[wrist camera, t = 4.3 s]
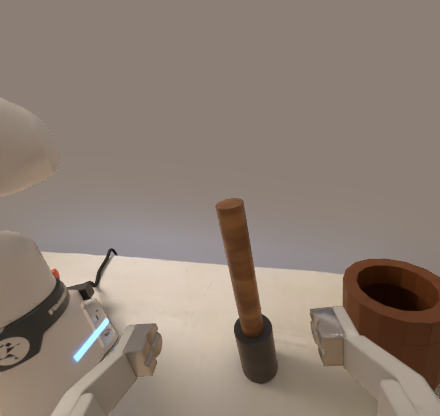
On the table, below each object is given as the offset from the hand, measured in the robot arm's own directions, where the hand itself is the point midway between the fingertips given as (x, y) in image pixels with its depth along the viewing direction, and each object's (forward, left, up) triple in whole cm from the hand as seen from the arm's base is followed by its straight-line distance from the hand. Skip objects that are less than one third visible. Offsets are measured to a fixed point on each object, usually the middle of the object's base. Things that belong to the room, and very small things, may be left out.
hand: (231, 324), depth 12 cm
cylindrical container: (-1, +21, -22) cm, 30 cm away
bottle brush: (-10, +7, -22) cm, 25 cm away
